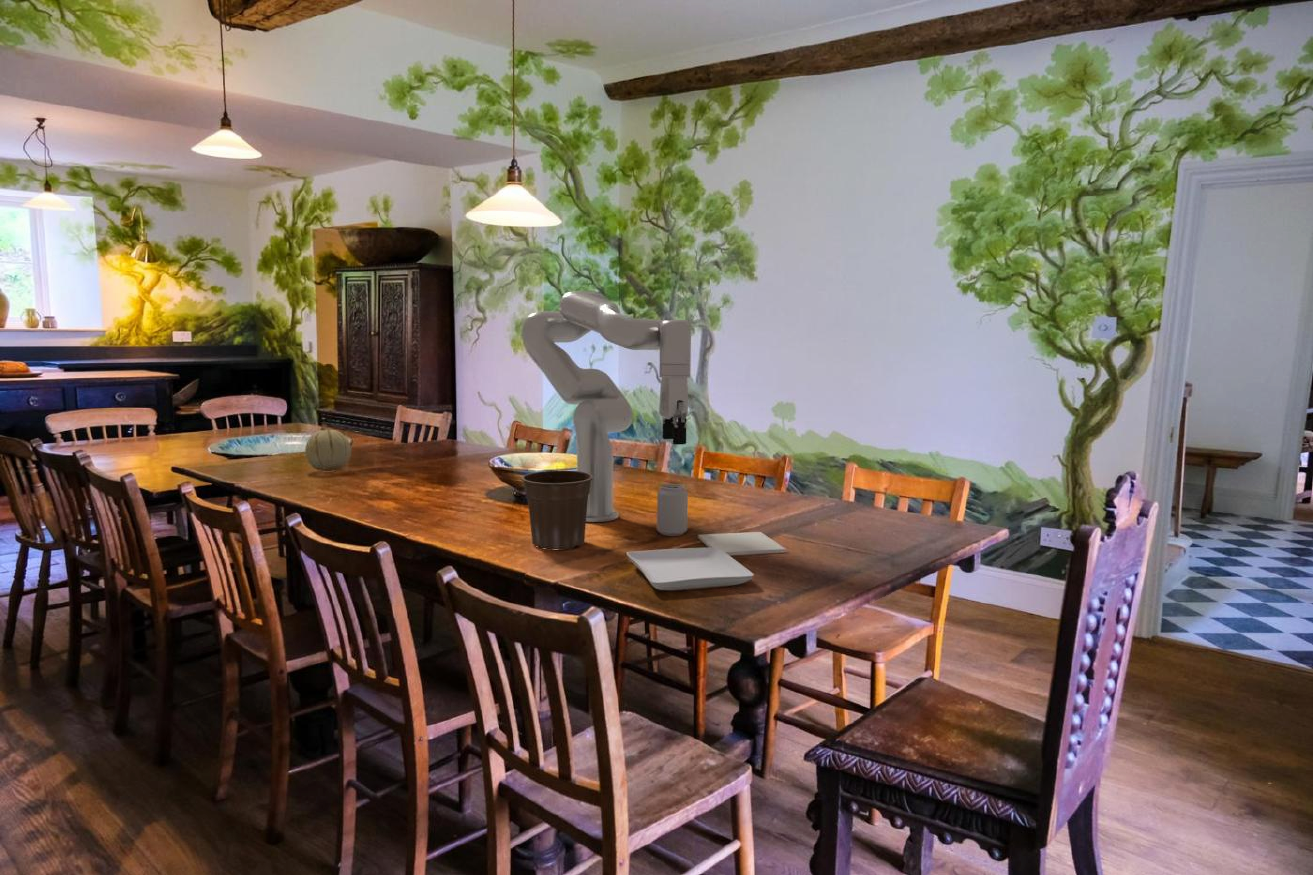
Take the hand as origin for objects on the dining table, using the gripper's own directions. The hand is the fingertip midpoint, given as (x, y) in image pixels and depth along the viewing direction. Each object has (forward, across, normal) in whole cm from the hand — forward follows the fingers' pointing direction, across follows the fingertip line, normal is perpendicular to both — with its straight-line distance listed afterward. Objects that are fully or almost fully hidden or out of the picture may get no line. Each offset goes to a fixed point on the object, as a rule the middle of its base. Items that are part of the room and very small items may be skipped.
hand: (674, 441), depth 198 cm
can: (+23, 0, 0) cm, 23 cm away
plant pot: (+23, +5, -29) cm, 38 cm away
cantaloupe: (+22, -103, -94) cm, 141 cm away
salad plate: (+24, +35, -6) cm, 43 cm away
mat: (+23, +14, +13) cm, 30 cm away
